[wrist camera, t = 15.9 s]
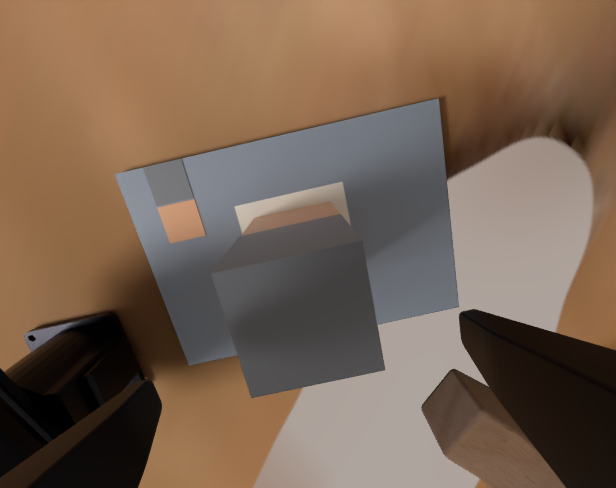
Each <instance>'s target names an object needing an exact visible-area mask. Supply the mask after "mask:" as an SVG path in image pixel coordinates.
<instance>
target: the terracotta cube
mask: <svg viewBox="0 0 616 488" xmlns="http://www.w3.org/2000/svg"><path fill="white" fill-rule="evenodd" d="M337 214H340V213H339V212H338V210H337V209H336V208H335V207H334V205H333V204H332V203H331V202H330V201H329V202H325V203H320V204H316V205H311V206H307V207H303V208H298V209H294V210H289V211H285V212H280V213H276V214H271V215H267V216H262V217H258V218H254V219H253V220H252V222H251V223H250V224H249V226H248V227H247V228H246V230H245V231H244V232H243V234H242V235H241V236H243V235H247V234H252V233H256V232H261V231H265V230H270V229H274V228H279V227H283V226H288V225H292V224H297V223H301V222H306V221H310V220H315V219H319V218H324V217H328V216H333V215H337Z"/></svg>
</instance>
